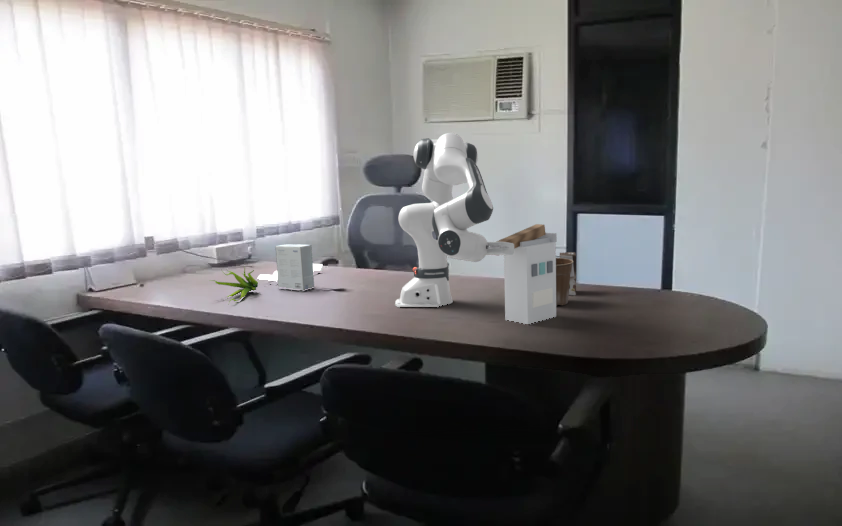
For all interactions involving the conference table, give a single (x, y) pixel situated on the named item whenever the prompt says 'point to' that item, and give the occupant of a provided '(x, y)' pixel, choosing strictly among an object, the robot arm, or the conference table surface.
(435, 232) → the robot arm
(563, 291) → the plant pot
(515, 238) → the lever bar
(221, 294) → the conference table surface
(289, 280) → the hard drive box
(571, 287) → the coffee box
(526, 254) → the switch console stand
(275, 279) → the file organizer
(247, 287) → the decorative plant
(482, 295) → the conference table surface
